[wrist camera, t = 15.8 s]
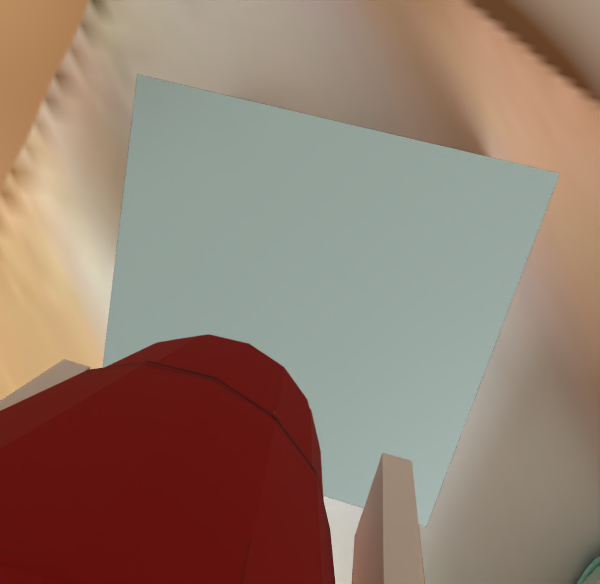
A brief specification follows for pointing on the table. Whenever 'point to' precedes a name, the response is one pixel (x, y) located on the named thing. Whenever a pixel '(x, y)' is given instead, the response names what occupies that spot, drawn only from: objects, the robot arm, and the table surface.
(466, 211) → the pale teal square panel
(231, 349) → the plastic cup
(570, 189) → the table surface
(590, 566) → the lunch box
